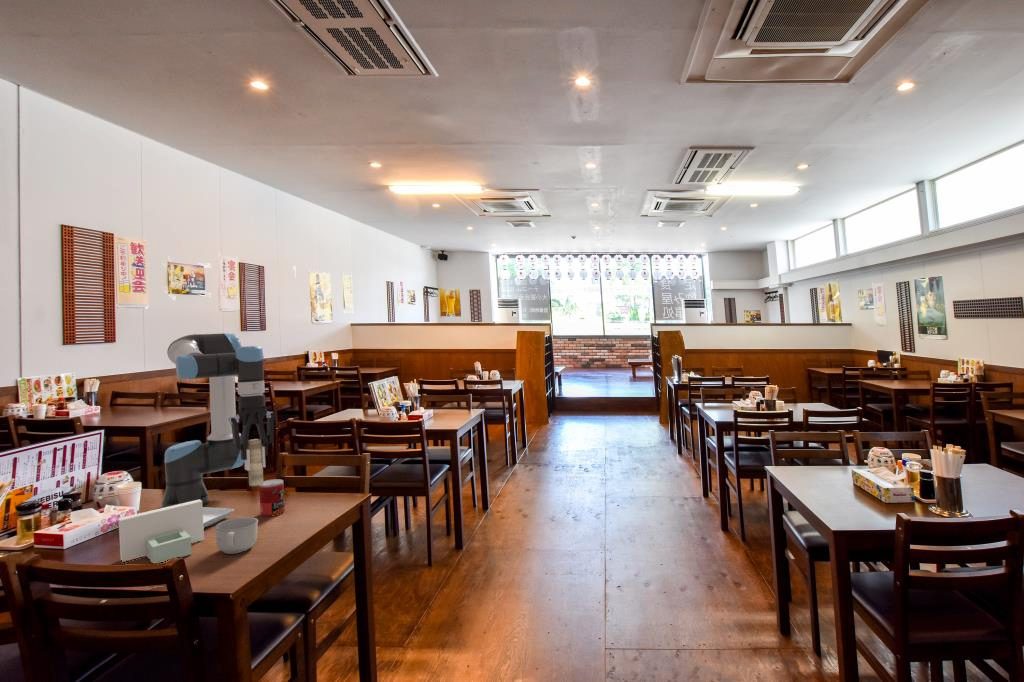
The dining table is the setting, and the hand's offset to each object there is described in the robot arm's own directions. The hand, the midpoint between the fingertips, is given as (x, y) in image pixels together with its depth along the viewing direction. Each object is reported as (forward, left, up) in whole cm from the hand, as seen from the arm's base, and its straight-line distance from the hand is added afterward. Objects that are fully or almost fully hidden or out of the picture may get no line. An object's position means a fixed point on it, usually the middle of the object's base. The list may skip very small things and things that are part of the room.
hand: (255, 467), depth 157 cm
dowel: (0, 0, -5) cm, 5 cm away
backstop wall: (-8, -23, -20) cm, 32 cm away
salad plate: (-25, -14, -21) cm, 36 cm away
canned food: (-14, +10, -21) cm, 27 cm away
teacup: (+11, -10, -21) cm, 25 cm away
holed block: (-2, -23, -20) cm, 31 cm away
